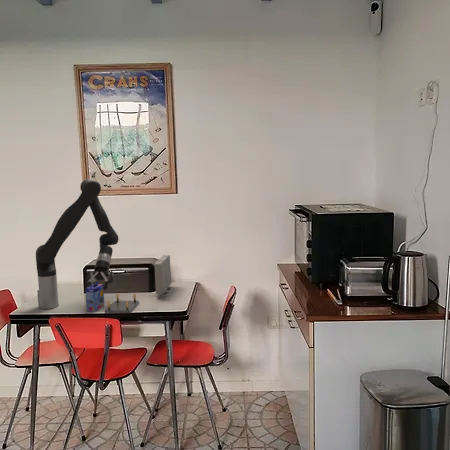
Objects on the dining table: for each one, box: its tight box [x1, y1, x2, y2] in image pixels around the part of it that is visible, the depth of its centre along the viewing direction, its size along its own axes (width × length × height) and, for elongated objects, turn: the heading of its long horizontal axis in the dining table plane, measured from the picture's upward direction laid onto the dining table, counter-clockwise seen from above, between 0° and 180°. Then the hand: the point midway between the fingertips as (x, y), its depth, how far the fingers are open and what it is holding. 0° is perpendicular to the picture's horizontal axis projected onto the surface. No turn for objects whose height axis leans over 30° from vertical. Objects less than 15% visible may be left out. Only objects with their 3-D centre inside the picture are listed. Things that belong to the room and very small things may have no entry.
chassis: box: [104, 293, 140, 314], centre depth 230 cm, size 13×17×6 cm
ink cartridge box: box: [85, 280, 105, 313], centre depth 230 cm, size 10×6×14 cm, turn 167°
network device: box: [153, 254, 174, 298], centre depth 259 cm, size 26×9×20 cm, turn 176°
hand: (96, 289), depth 233 cm, fingers open, 8 cm apart
